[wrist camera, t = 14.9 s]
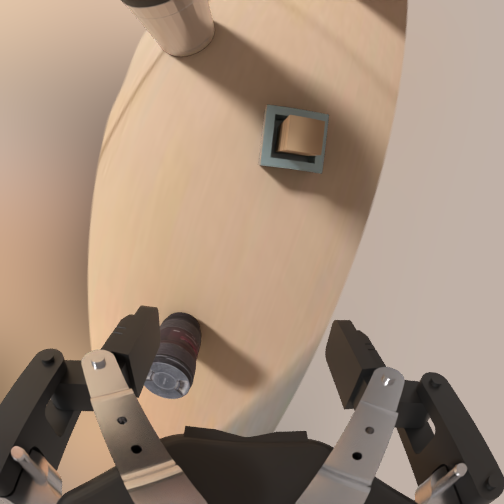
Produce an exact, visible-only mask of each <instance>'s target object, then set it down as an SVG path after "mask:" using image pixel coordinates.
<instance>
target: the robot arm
mask: <svg viewBox="0 0 504 504" xmlns="http://www.w3.org/2000/svg"><path fill="white" fill-rule="evenodd" d="M121 1H122V2H123V3H124V4H125V5H126V6H127V7H128V9H129V10H130V11H131V12H132V13H133V14H134V15H135V17H136V18H137V19H138V20H139V21H140V22H141V24H142V25H143V26H144V27H145V28H146V30H147V31H148V32H149V33H150V34H151V36H152V37H153V38H154V39H155V41H156V42H157V43H158V44H159V45H160V47H161V48H162V49H163V50H164V51H165V52H166V53H168V54H171V55H174V56H188V55H192V54H195V53H197V52H199V51H201V50H202V49H204V48H205V47H206V46H207V45H208V44H209V43H210V42H211V40H212V39H213V36H214V31H215V28H214V23H213V19H212V15H211V11H210V7H209V3H208V0H121ZM159 346H160V326H159V314H158V309H157V307H149V306H140V307H139V309H138V310H137V312H136V313H135V315H128V316H126V317H125V318H123V319H122V320H121V321H120V322H119V324H118V325H117V327H116V328H115V329H114V331H113V333H112V334H111V335H110V337H109V338H108V339H107V341H106V342H105V344H104V345H103V347H102V348H101V350H94V351H91V352H89V353H87V354H86V355H85V356H84V357H83V358H82V360H81V361H73V360H69V361H67V360H64V357H63V355H62V353H61V352H60V351H58V350H56V349H46V350H43V351H41V352H39V353H38V354H36V356H35V357H34V358H33V359H32V361H31V362H30V363H29V365H28V366H27V367H26V369H25V370H24V371H23V373H22V374H21V375H20V377H19V378H18V379H17V381H16V382H15V384H14V385H13V387H12V388H11V390H10V391H9V392H8V394H7V395H6V397H5V398H4V400H3V401H2V403H1V404H0V500H1V501H3V502H4V503H5V504H489V503H491V502H492V501H494V500H495V499H496V498H497V497H499V496H500V494H501V493H502V492H503V489H504V477H503V474H502V472H501V470H500V468H499V466H498V464H497V462H496V460H495V459H494V457H493V455H492V453H491V451H490V449H489V447H488V446H487V444H486V442H485V440H484V438H483V437H482V435H481V433H480V432H479V430H478V428H477V426H476V425H475V423H474V421H473V420H472V418H471V417H470V415H469V413H468V412H467V410H466V409H465V407H464V405H463V404H462V402H461V401H460V399H459V398H458V396H457V395H456V393H455V392H454V390H453V388H452V387H451V385H450V384H449V383H448V381H447V380H446V379H445V378H444V377H443V376H442V375H440V374H437V373H432V372H429V373H426V374H424V375H423V376H422V378H421V380H420V382H418V381H408V380H404V377H403V375H402V374H401V373H400V372H399V371H397V370H395V369H393V368H390V367H386V366H385V364H384V362H383V361H382V359H381V357H380V356H379V354H378V353H377V351H376V350H375V348H374V346H373V345H372V343H371V341H370V340H369V338H368V337H367V336H366V335H365V334H364V333H362V332H361V331H359V330H358V331H357V330H356V329H355V327H354V325H353V324H352V322H351V321H350V320H335V321H334V322H333V324H332V327H331V331H330V335H329V339H328V342H327V346H326V354H325V355H326V361H327V363H328V366H329V369H330V371H331V374H332V377H333V379H334V382H335V385H336V388H337V390H338V393H339V396H340V399H341V402H342V405H343V407H344V409H353V408H354V410H355V412H354V414H353V415H352V417H351V419H350V421H349V423H348V425H347V426H346V428H345V430H344V432H343V433H342V435H341V437H340V439H339V440H338V442H337V444H336V446H335V447H334V448H333V447H331V446H330V445H327V444H325V443H323V442H320V441H316V440H312V439H308V438H307V432H306V431H295V432H294V431H292V432H274V433H269V434H264V435H259V436H253V437H242V436H238V435H234V434H230V433H227V432H223V431H219V430H216V429H207V428H198V427H190V426H185V432H184V434H177V435H171V436H167V437H164V438H161V439H159V437H158V436H157V434H156V432H155V431H154V429H153V427H152V425H151V424H150V422H149V420H148V418H147V417H146V415H145V413H144V411H143V409H142V408H141V406H140V404H139V402H138V400H137V398H136V397H138V398H139V396H140V393H141V391H142V388H143V386H144V383H145V381H146V378H147V376H148V373H149V371H150V368H151V366H152V364H153V361H154V359H155V356H156V354H157V352H158V349H159ZM49 400H50V401H49ZM81 411H94V413H95V415H96V418H97V421H98V424H99V427H100V429H101V432H102V434H103V437H104V439H105V442H106V444H107V447H108V449H109V451H110V454H111V456H112V458H113V460H114V463H115V465H116V466H115V467H113V468H111V469H109V470H108V471H106V472H104V473H103V474H101V475H99V476H97V477H95V478H94V479H92V480H90V481H88V482H86V483H84V484H82V485H80V486H78V487H76V488H74V489H72V490H71V491H68V492H67V493H65V494H64V495H63V496H62V491H61V489H62V480H61V477H60V475H59V473H58V472H57V469H58V466H59V463H60V461H61V458H62V455H63V453H64V450H65V448H66V445H67V443H68V441H69V438H70V436H71V433H72V431H73V429H74V426H75V424H76V422H77V420H78V417H79V415H80V413H81ZM429 418H431V420H432V422H433V423H434V425H435V430H436V431H435V435H434V434H433V432H432V429H431V427H430V425H429V423H428V422H427V421H428V419H429ZM394 427H396V428H397V430H398V433H399V435H400V438H401V441H402V443H403V446H404V448H405V451H406V454H407V456H408V459H409V462H410V464H411V467H412V470H413V473H414V476H415V478H416V481H417V484H418V488H417V490H416V492H415V500H412V499H410V498H408V497H407V496H405V495H403V494H402V493H400V492H398V491H397V490H395V489H393V488H392V487H390V486H389V485H387V484H385V483H384V482H382V481H381V480H379V479H377V478H376V477H375V474H376V472H377V470H378V468H379V465H380V463H381V461H382V458H383V455H384V453H385V451H386V448H387V446H388V443H389V440H390V438H391V435H392V432H393V429H394Z"/></svg>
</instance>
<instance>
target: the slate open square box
mask: <svg viewBox="0 0 504 504" xmlns="http://www.w3.org/2000/svg"><path fill="white" fill-rule="evenodd" d="M289 115H295V116H301V117H306V118H312V119H317V120H322V121H325V128H324V137H323V145H322V153H321V155H315V156H298V155H292V154H285V153H278V152H275V150H276V142H277V134H278V126H279V125H280V124H281V123H282V122H283V121H284V120H285V119H286V118H287V117H288V116H289ZM328 119H329V115H328V114H323V113H318V112H313V111H307V110H301V109H295V108H289V107H282V106H275V105H268V104H267V106H266V109H265V111H264V120H263V129H262V138H261V147H260V155H259V164H258V165H263V166H272V167H280V168H287V169H294V170H301V171H308V172H315V173H321V174H322V170H323V163H324V155H325V146H326V138H327V128H328Z"/></svg>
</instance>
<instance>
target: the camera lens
mask: <svg viewBox="0 0 504 504" xmlns="http://www.w3.org/2000/svg"><path fill="white" fill-rule="evenodd" d="M200 344H201V331H200V326H199V324H198V322H197V320H196V319H195V318H194V317H192V316H191V315H189V314H186V313H182V312H177V313H173V314H171V315H170V316H168V318H166V319H165V320H164V321H163V323H162V324H161V326H160V346H159V349H158V352H157V354H156V356H155V359H154V361H153V364H152V366H151V368H150V371H149V373H148V376H147V378H146V381H145V383H144V386H145V387H146V388H147V389H148V390H150V391H151V392H152V393H154V394H156V395H158V396H160V397H163V398H168V399H176V398H181V397H183V396H185V395H186V394H187V393H188V391H189V389H190V387H191V386H192V384H193V379H194V375H195V370H196V359H197V355H198V352H199V349H200Z"/></svg>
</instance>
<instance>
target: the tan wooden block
mask: <svg viewBox="0 0 504 504" xmlns="http://www.w3.org/2000/svg"><path fill="white" fill-rule="evenodd" d="M324 128H325V121H322V120H317V119H312V118H306V117H301V116H295V115H289V116H288V117H287V118H286V119H285V120H284V121H283V122H282V123H281V124H280V125H279V126H278V134H277V142H276V150H275V152H278V153H285V154H292V155H298V156H315V155H321V153H322V145H323V137H324Z"/></svg>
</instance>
